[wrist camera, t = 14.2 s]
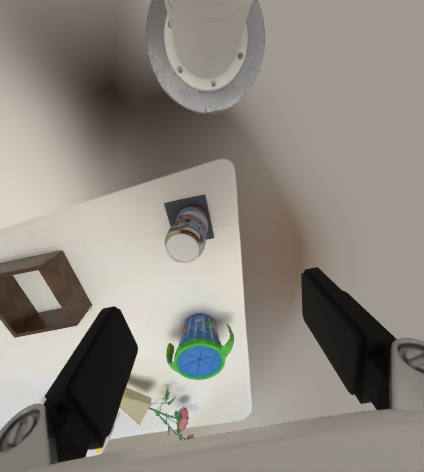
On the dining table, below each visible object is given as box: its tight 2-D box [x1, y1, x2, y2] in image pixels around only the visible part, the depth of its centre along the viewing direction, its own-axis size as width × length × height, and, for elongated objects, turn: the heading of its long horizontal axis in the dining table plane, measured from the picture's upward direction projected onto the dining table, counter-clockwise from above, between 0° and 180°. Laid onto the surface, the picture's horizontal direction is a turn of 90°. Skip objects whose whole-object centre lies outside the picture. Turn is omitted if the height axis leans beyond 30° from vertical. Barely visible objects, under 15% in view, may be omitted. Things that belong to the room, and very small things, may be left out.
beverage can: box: [165, 205, 209, 263], centre depth 34 cm, size 6×7×12 cm
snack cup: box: [166, 314, 234, 380], centre depth 45 cm, size 16×10×10 cm
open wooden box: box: [0, 251, 92, 337], centre depth 41 cm, size 15×14×6 cm
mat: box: [164, 195, 214, 239], centre depth 40 cm, size 9×8×1 cm
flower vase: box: [120, 388, 194, 440], centre depth 54 cm, size 12×12×35 cm
